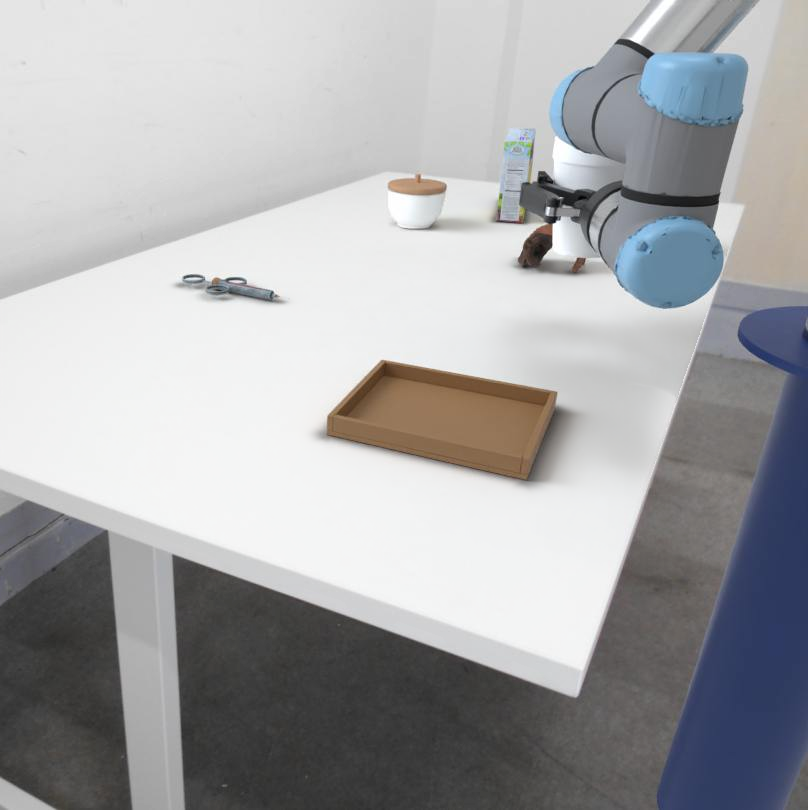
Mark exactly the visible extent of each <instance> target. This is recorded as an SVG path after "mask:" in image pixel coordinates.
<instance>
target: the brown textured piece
mask: <svg viewBox="0 0 808 810" xmlns="http://www.w3.org/2000/svg"><path fill="white" fill-rule="evenodd" d="M552 241H553V224H547V223H546V224H544V225H540V226H539V227H537V228H536V229H535V230H533V231H532V232H531V233H530V235H529V236H528V237H527V238H526V239H525V240H524V242H523V245H522V250H521V252H520V254H519V256H518V258H517V262H518V264H519V265H520V266H521V267H522V268H525V266H526V264H528V265H529V266H532V267H540V265H541V262H542V261H543V259H544V257H545V256H546V255H547V254H548V252H549V251H551V249H553V244H552ZM586 260H587V258H577V257H576V261H575V262H574V263H573V265H572V267H571V269H572V271H573V272H574V273H578V272H579V270H581V269H582V266H584V265H585V264H586Z"/></svg>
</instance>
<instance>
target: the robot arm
mask: <svg viewBox="0 0 808 810" xmlns="http://www.w3.org/2000/svg"><path fill="white" fill-rule="evenodd" d="M760 1H761V0H649V2H648V3H647V4H646V5H645V6H644V7H643V8H642V10H641V11H640V12H639V13H638V15H637V16H636V17H635V18H634V19H633V21H632V22H631V23H630V24H629V25H628V27H627V28H626V29H625V30H624V31H623V33H622V34H621V35H620V36H619V37H618V39H617V40H616V41H615V42H614V43H613V45H612V46H611V47H610V48H609V49H608V50H607V52H606V53H605V54H604V55H603V56H602V57H601V59H599V61H598V62H597V63H596V64H595V65H592V66H587V67H585V68H581V69H578V70H576V71H574V72H572V73H570V74H569V75H568V76H566V77H565V78H563V80H562V81H561V82H560V83H559V84H558V85H557V87H556V88H555V90H554V92H553V94H552V96H551V99H550V102H549V108H548V109H549V110H548V111H549V112H548V117H549V123H550V126H551V128H552V130H553V132H554V134H555V135H556V136H558V138H559V139H560V140H562V141H563V142H565V143H567V144H569V145H571V146H573V147H574V148H575V149H577V150H580V151H582V152H583V153H589V154H596V155H599V156H603V157H606V158H609V159H612V160H615V161H617V162H620V163H623V164H626V165H625V170H624V175H623V180H621V181H616V182H613V183H610V184H608V185H606V186H604V187H602V188H601V189H599V190H598V191H594V190H590V189H577V190H572V189H568V188H565V187H561V186H557V185H554V178H552V177H551V176H550V175H549V174H548V173H547V172H546V171H545V170H538V171H537V179H536V181H530V182H523V183H522V184H521V192H520V199H519V205H520V206H522V207H523V208H525V209H526V210H527V211H529V212H531V213H532V214H534V215H536V216H538V217H540V218H542V220H543V222H544V224H546V225H547V224H554V223H556V221H560V220H561V216H562V217H570V218H571V221H573V222H575V223H578V224H580V225H581V229H582V232H583V235H584V237H585V239H586V241H587V242H588V243H589V245H590V246H591V247H592V248H593V249H594V251H595V252H596V253H597V254H598V255H599V256H600V259H601V260H602V261H603V262H604V263H605V265H606V266H607V268H608V269H610V271H611V272H612V273H613V274H614V276H615V278H616V281H617V283H618V284H619V286H620V287H621V288H622V289H623V290H624V291H625V292H627V293H628V294H630V295H631V296H632V297H634V299H636V300H639V301H640V302H641V303H643V304H645V305H647V306H649V307H653V308H657V309H662V310H666V309H677V308H682V307H685V306H688V305H690V304H692V303H694V302H696V301H698V300H700V299H701V298H702V297H704V296H705V295H707V294H708V292H710V290H711V289H712V288H714V286H715V284H716V283H717V281H718V280H719V278H720V276H721V274H722V272H723V267H724V263H725V261H724V260H725V259H724V258H725V256H724V255H725V254H724V250H723V246H722V243H721V241H720V238H718V236H717V234H716V231H715V229H714V227H715V224H716V223H715V221H716V218H717V214H718V210H719V205H720V196H721V193H722V192H721V189H722V186H723V181H724V178H725V175H726V171H727V168H728V167H727V166H728V163H729V159H730V156H731V152H732V148H733V145H734V141H735V138H736V134H737V130H738V126H739V123H740V119H741V118H742V115H743V114H744V107H745V106H744V104H743V102H744V96H745V91H746V84H747V79H748V75H749V74H748V73H749V64H748V61H747V60H746V58H745V57H743V56H742V55H740V54H736V53H727V52H723V53H722V52H715V51H717V49H718V48H719V47H720V46H721V45H722V44H723V43H724V41H726V39H727V38H728V37H729V36H730V35H731V34H732V32H733V31H734V30H736V28H737V27H738V26H739V25H740V24H741V23H742V21H744V19H745V18H746V17H747V16H748V15H749V13H750V12H751V11H752V10H753V9H754V8H755V7H756V6H757V5H758V3H760ZM803 336H804V338H805V339H806V340H807V341H808V317H807V320H806V323H805V327H804V330H803Z"/></svg>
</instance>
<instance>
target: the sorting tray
mask: <svg viewBox="0 0 808 810" xmlns="http://www.w3.org/2000/svg"><path fill="white" fill-rule="evenodd" d="M557 398H558V391H557V390H556V391H555V390H551V389H545V388H540V387H534V386H528V385H523V384H518V383H513V382H506V381H501V380H496V379H490V378H484V377H479V376H475V375H470V374H469V375H468V374H464V373H457V372H452V371H447V370H441V369H435V368H430V367H424V366H418V365H415V364H410V363H409V364H408V363H403V362H397V361H392V360H386V359H381V360H379V362H378V363H377V364H376V365H375V366H374V367H373V368H372V369H371V370H370V371H369V372H368V373H367V374H366V375H365V376H364V377H363V378H362V379H361V380H360V381H359V382H358V383H357V384H356V385H355V387H353V388H352V390H351V391H350V392H349V393H348V394H347V395H346V396H345V397H344V398H343V399H341V401H340V402H339V403H338V404H337V405H336V406H335V407H334V408H333V409H332V410H331V411H330V412H329V413H328V414H327V415H326V416H327V417H326V435H328V436H331V437H336V438H340V439H346V440H349V441H354V442H358V443H362V444H367V445H372V446H375V447H380V448H384V449H388V450H392V451H397V452H402V453H406V454H410V455H414V456H419V457H424V458H427V459H433V460H437V461H441V462H446V463H449V464H455V465H458V466H463V467H468V468H472V469H475V470H481V471H486V472H489V473H494V474H499V475H503V476H507V477H510V478H511V477H512V478H514V479H515V478H516V479H519V480H520V479H521V480H524V481H527V480H528V477H529V476H530V475H529V474H530V472H531V469H532V468H533V465H534V462H535V459H536V457H537V454H538V452H539V449H540V448H541V444H542V443H543V440H544V437H545V435H546V432H547V429H548V428H549V424H550V423H551V420H552V417H553V415H554V412H555V409H556V404H557V400H558V399H557Z"/></svg>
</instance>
